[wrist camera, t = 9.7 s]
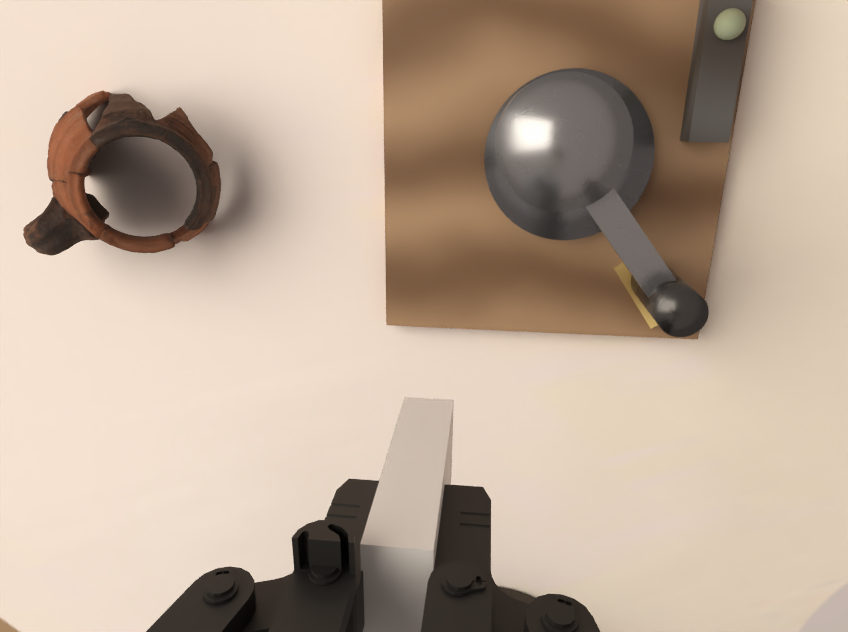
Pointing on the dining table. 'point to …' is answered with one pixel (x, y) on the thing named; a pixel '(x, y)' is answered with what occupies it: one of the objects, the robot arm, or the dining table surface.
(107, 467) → the dining table surface
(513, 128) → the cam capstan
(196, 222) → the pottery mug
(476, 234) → the stand board
